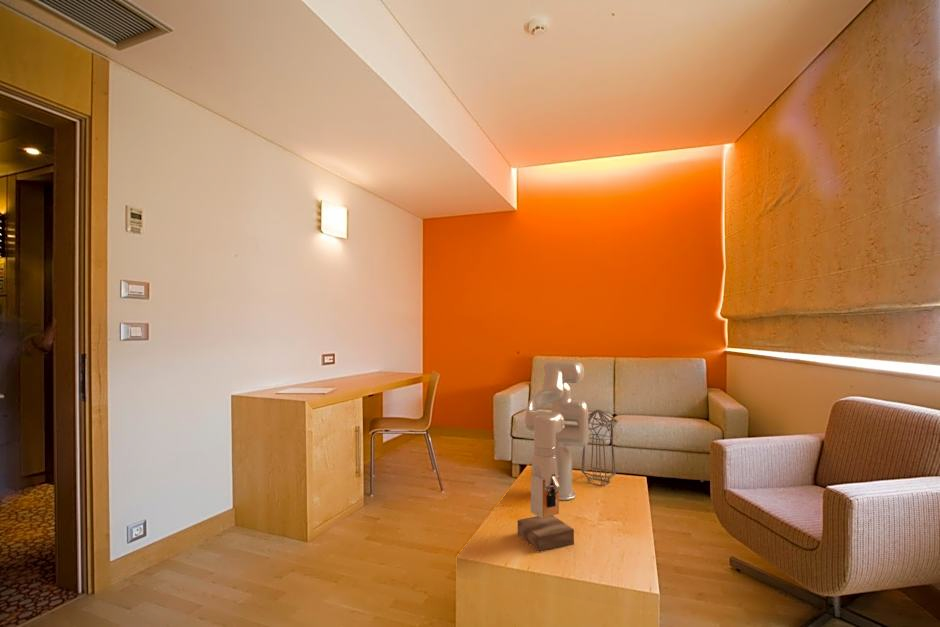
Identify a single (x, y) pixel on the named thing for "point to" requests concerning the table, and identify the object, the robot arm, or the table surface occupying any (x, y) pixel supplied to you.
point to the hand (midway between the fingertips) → (544, 502)
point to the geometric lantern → (599, 446)
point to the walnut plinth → (545, 532)
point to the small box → (542, 498)
